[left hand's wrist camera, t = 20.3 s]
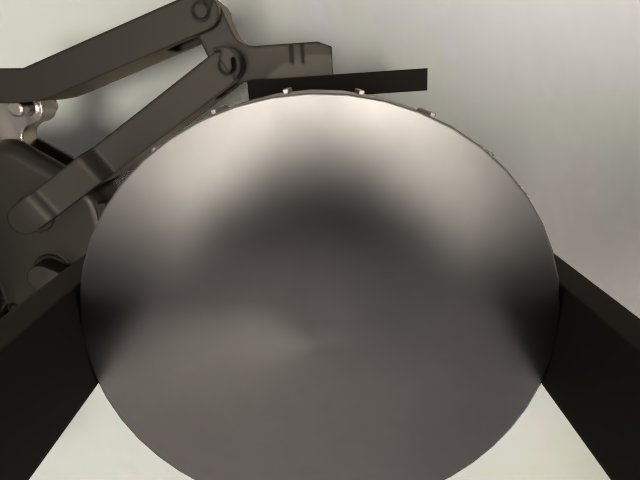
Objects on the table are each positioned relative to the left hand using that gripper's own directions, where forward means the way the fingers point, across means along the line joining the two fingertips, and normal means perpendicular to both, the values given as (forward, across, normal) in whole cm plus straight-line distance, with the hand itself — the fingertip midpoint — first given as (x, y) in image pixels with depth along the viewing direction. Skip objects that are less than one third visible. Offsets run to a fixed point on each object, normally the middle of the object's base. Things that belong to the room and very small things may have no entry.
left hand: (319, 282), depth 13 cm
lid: (-3, 0, 0) cm, 3 cm away
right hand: (+6, -4, 0) cm, 8 cm away
